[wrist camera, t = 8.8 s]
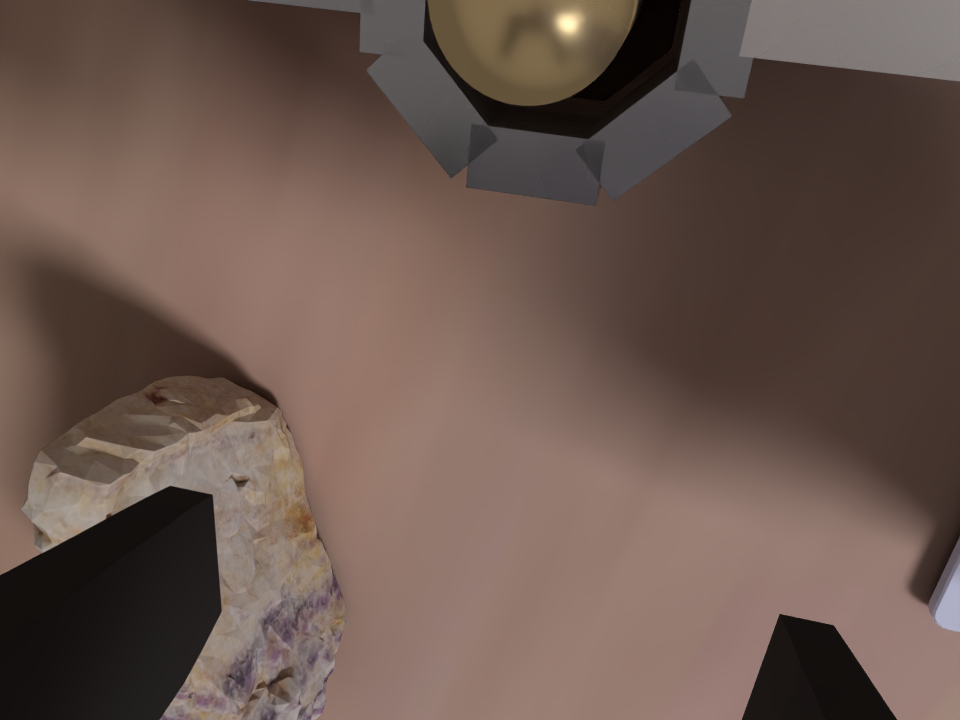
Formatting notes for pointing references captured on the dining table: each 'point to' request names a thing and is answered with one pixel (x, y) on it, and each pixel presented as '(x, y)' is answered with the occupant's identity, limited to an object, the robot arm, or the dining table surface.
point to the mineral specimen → (239, 535)
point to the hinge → (635, 86)
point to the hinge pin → (531, 44)
